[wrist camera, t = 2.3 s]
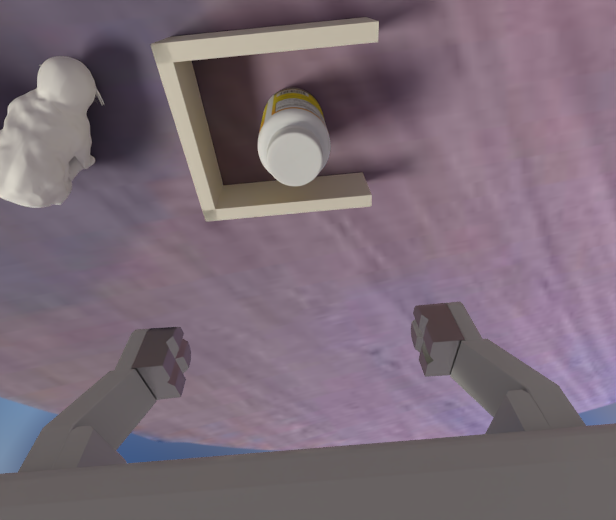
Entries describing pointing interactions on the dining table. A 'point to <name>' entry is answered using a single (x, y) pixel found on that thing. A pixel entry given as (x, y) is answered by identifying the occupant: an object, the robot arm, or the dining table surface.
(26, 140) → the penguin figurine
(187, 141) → the beige u-shaped bracket
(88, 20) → the dining table surface
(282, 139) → the supplement bottle
